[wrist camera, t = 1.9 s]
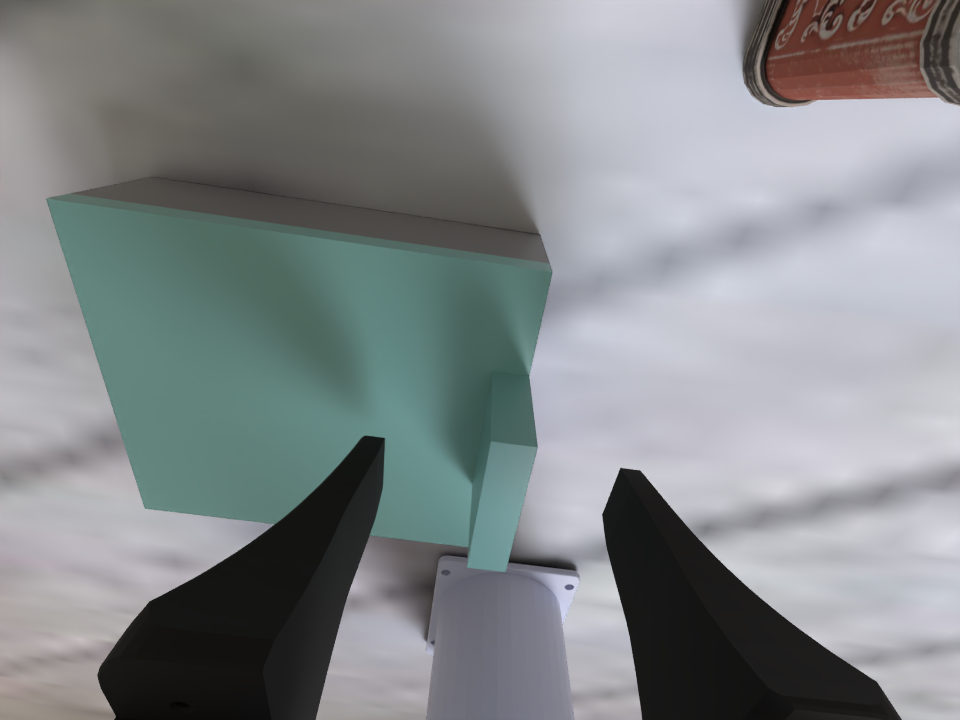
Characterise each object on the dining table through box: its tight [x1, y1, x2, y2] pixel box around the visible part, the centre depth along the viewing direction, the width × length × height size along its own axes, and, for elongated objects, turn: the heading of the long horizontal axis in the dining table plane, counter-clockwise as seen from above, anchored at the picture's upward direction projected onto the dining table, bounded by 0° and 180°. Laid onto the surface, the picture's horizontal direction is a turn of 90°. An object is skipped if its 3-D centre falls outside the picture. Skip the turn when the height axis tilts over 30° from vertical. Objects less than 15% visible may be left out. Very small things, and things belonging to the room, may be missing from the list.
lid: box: [46, 194, 552, 572], centre depth 15 cm, size 12×14×5 cm
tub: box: [71, 177, 549, 263], centre depth 18 cm, size 12×14×4 cm
